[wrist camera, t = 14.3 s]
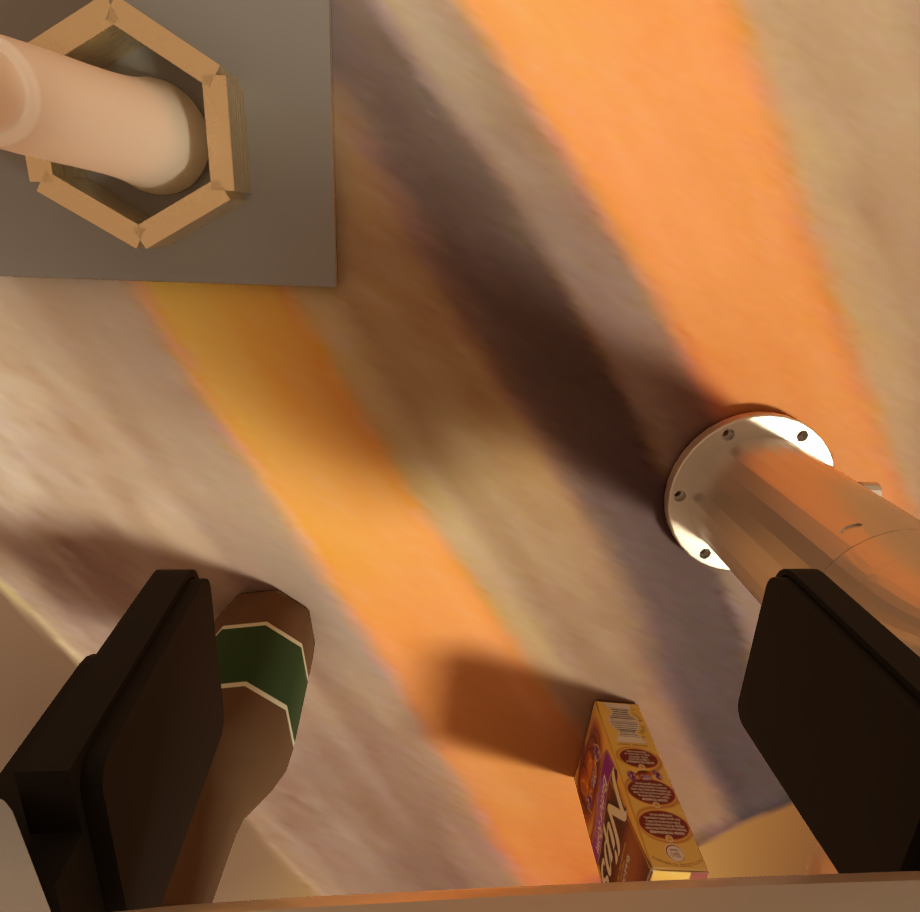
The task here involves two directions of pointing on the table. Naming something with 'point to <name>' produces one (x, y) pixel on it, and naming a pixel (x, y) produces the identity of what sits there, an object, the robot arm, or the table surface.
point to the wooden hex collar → (125, 29)
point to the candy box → (632, 802)
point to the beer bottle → (246, 731)
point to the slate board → (270, 157)
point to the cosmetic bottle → (99, 119)
